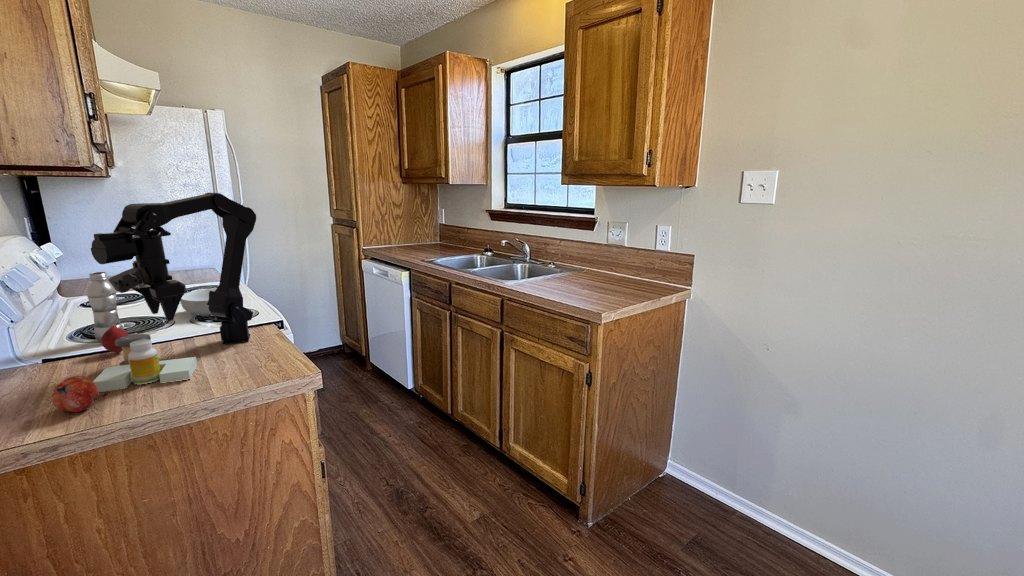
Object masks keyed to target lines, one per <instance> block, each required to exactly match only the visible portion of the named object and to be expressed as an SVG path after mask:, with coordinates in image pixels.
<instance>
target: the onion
mask: <svg viewBox="0 0 1024 576" xmlns="http://www.w3.org/2000/svg"><path fill="white" fill-rule="evenodd" d="M129 335H130V334H129V333H128V332H127V331H126V330H122V329H120V328H117V325H112V326H111V327H110V329H109V330H107V331H106V332H105V333H104V334H103V336H102V339H101V342H100V343H101V345H102V347H103V348H104V349H105V350H107V351H109V352H112V353H116V354H120V353H123V351H122V347H120V346H116V345H115V340H117V339H119V338H121V337H124V336H129Z"/></svg>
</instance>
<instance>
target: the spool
mask: <svg viewBox="0 0 1024 576" xmlns="http://www.w3.org/2000/svg"><path fill="white" fill-rule="evenodd" d="M128 335H129V336H124V337H121V338H119V339H117V340H115V345H116V346H120V347H122V355H123V361H121V362H120V363H119V365H118V366H122V365H129V360H128V355H129V353H130V352H132V350H131V349H130V343H131V342H134V341H137V340H144V339H148V340H151V341H152V339H151V338H152V337H151V335H150V334H148V333H147V334H146V333H138V334H137V333H136V334H128Z"/></svg>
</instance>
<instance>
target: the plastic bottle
mask: <svg viewBox="0 0 1024 576" xmlns="http://www.w3.org/2000/svg"><path fill="white" fill-rule="evenodd" d="M88 275H89V281H90V282H91V283H90V284H89V286H88V287H87V289H86V291H85V292H86V293H85V294H86V297H87V300H88V302H89V304H90V307H91V311H92V315H93V322H94V328H93V329H94V330H93V332H94V333H93V334H94V337H95V339H96V340H97V341H98V342H99V343H101V339H102V336H103V334H104V333H105V332H106V331H107V330H109V329H110V327H111V326H112V325H117V328H120V329H122V330H124V327H123V324H122V323H121V320H120V316H119V313H118V307H117V291H116V290H115V288H114V287H113V286H112V284H111V283H110V282H109V280H108V279H109V278H108V276H107V272H106V271H96V272H95V271H94V272H91V273H89V274H88ZM124 331H125V330H124Z"/></svg>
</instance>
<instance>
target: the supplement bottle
mask: <svg viewBox="0 0 1024 576" xmlns="http://www.w3.org/2000/svg"><path fill="white" fill-rule="evenodd" d="M152 343H153V342H152V339H151V340H148V339H144V340H137V341H134V342H131V343H130V349H131V350H132V352H130V353H129V355H128V360H129V365H130V370H131V375H132V380H133V381H132V383H133V385H136V384H137V385H136V386H142V385H141V384H146V385H148V384H147V383H151V384H153V383H152V382H154V383H155V381H156V382H158V381H160V380H159V379H160V377H159V374H160V372H161V371H160V365H159V361H160V360H159V355H158V354H159V353H158V350H157V349H156V348H154V347H153V344H152ZM157 380H158V381H157Z"/></svg>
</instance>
